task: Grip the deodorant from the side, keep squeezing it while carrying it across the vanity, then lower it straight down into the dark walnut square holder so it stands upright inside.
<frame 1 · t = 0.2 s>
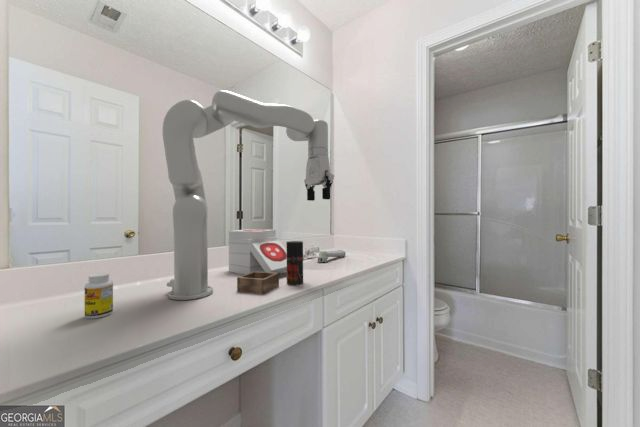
hand: (318, 199, 101), 30 cm above the worktop, tool pointing down, fingers open, 9 cm apart
white stacked boxes: (261, 272, 118), on the worktop
supplement bottle: (99, 316, 68), on the worktop
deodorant: (295, 283, 98), on the worktop
holder: (258, 288, 91), on the worktop
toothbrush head: (331, 260, 149), on the worktop
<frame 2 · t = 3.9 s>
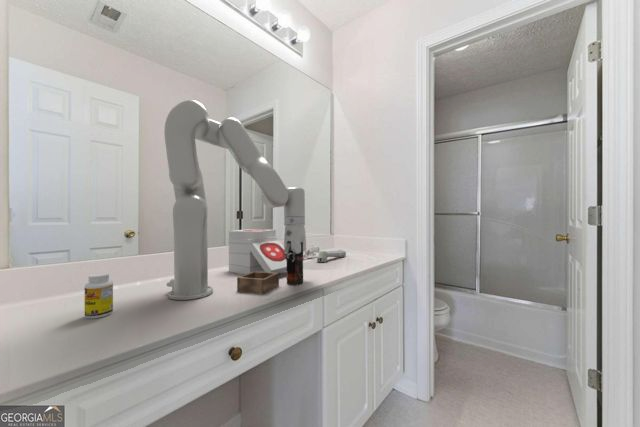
hand: (294, 270, 98), 5 cm above the worktop, tool pointing down, fingers closed on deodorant, 5 cm apart
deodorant: (295, 283, 98), on the worktop, touching gripper
everything else where it was.
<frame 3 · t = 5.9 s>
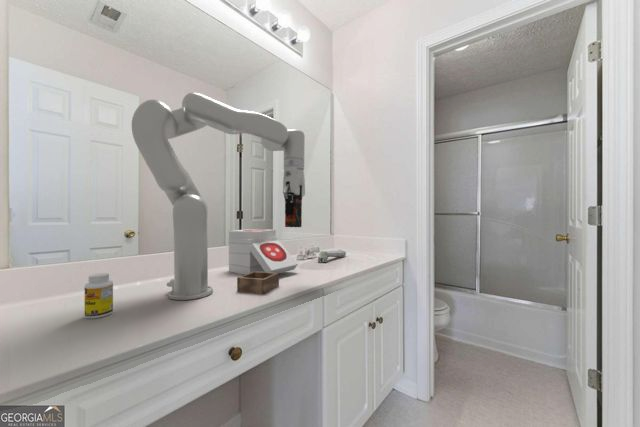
hand: (293, 214, 98), 25 cm above the worktop, tool pointing down, fingers closed on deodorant, 5 cm apart
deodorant: (293, 227, 98), point 20 cm above the worktop, touching gripper
everything else where it was.
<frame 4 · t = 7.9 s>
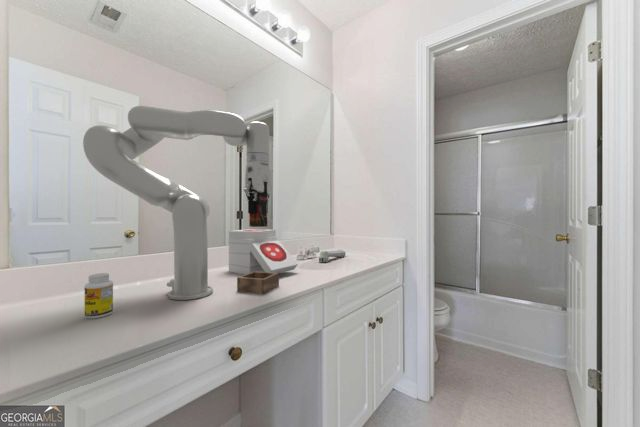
hand: (258, 212, 91), 26 cm above the worktop, tool pointing down, fingers closed on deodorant, 5 cm apart
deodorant: (258, 226, 91), point 21 cm above the worktop, touching gripper
everything else where it was.
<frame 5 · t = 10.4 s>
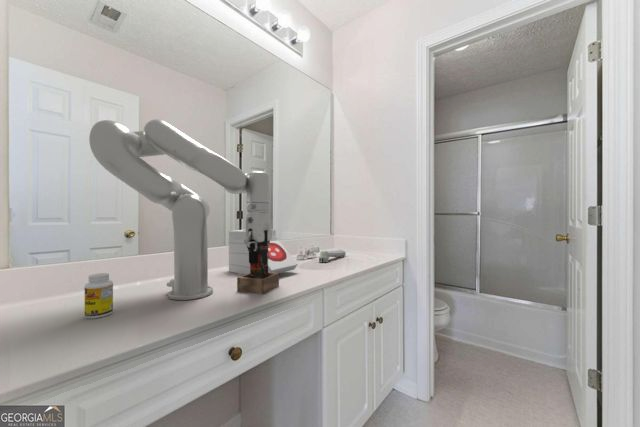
hand: (259, 261, 91), 9 cm above the worktop, tool pointing down, fingers closed on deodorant, 5 cm apart
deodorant: (259, 275, 91), point 5 cm above the worktop, touching gripper
everything else where it was.
when the fingers open (7 cm above the worktop, at t = 12.0 s): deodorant drops 1 cm, resting on holder.
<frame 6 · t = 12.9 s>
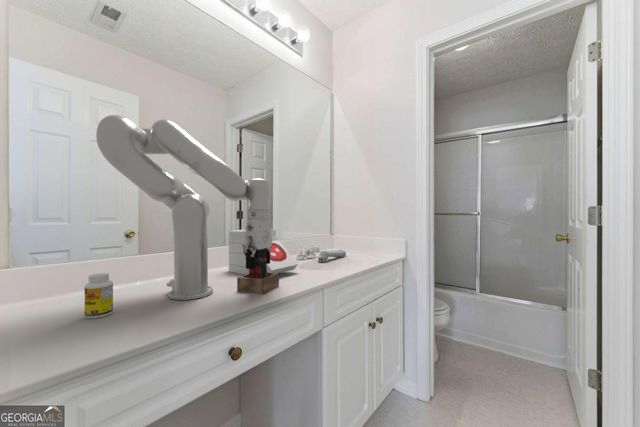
hand: (258, 266, 91), 8 cm above the worktop, tool pointing down, fingers open, 9 cm apart
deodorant: (258, 286, 91), point 1 cm above the worktop, touching holder
everything else where it was.
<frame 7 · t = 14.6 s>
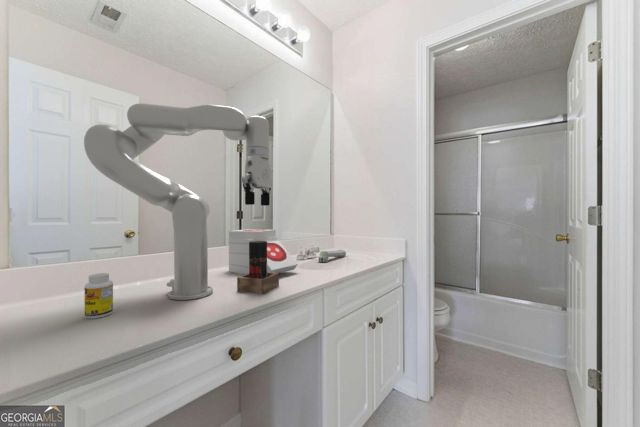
hand: (257, 205, 91), 28 cm above the worktop, tool pointing down, fingers open, 9 cm apart
nothing on the worktop moved.
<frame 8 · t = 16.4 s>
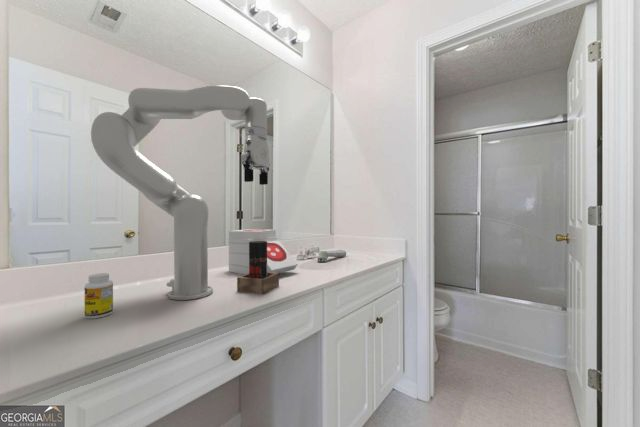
hand: (256, 183, 96), 36 cm above the worktop, tool pointing down, fingers open, 9 cm apart
nothing on the worktop moved.
at the end: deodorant 0.1 cm off-centre on the holder, point 0.6 cm above the holder's base; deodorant tilted 0°; the gripper is holding nothing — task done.
